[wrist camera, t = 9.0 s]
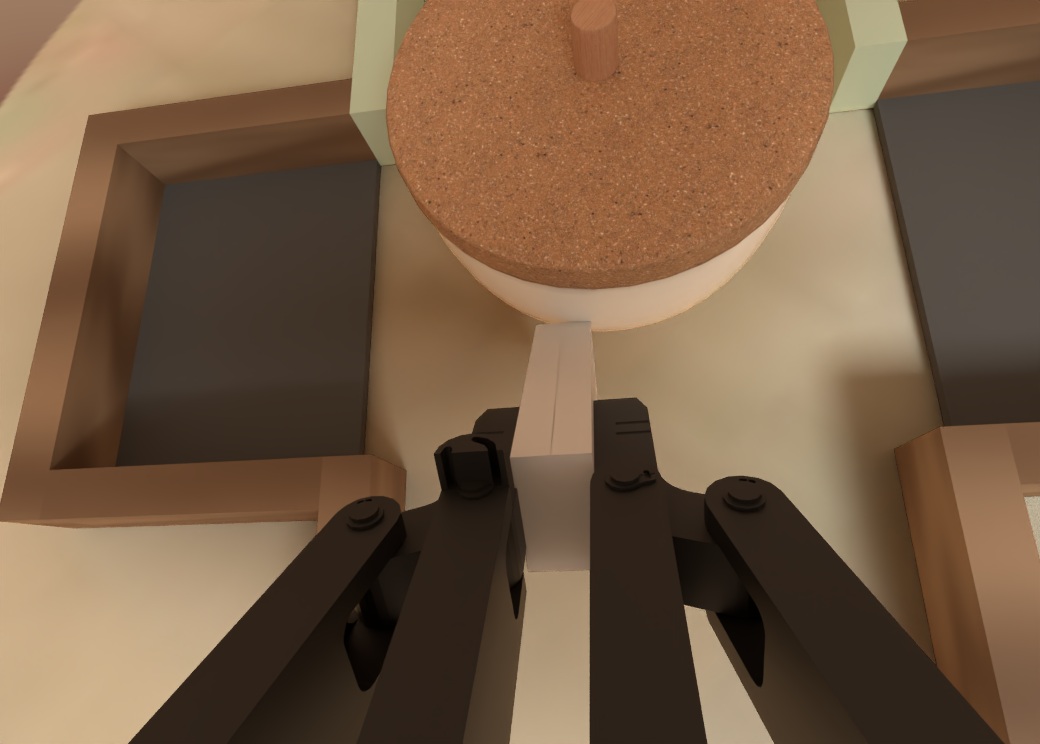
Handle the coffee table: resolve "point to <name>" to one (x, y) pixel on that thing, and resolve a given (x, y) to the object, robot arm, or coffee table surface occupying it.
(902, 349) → the coffee table surface
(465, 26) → the lidded jar
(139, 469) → the track
